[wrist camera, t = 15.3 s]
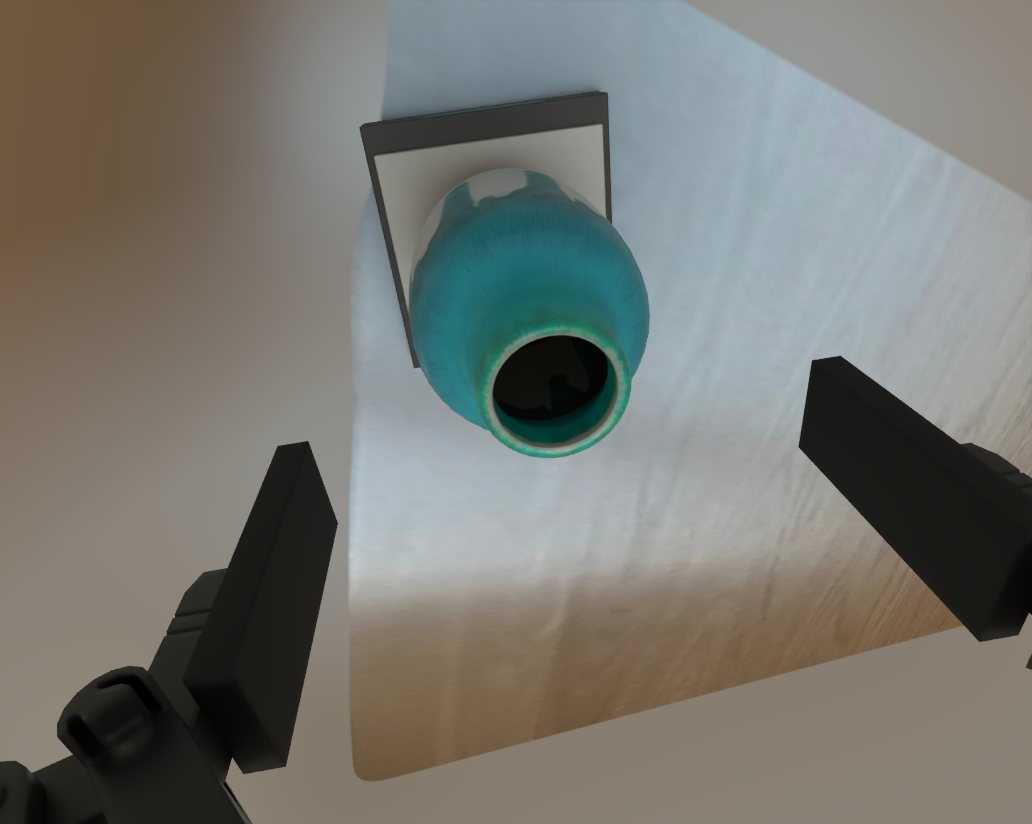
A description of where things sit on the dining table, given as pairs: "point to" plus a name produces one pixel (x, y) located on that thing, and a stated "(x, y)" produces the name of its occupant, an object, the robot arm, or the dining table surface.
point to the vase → (527, 311)
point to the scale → (480, 162)
